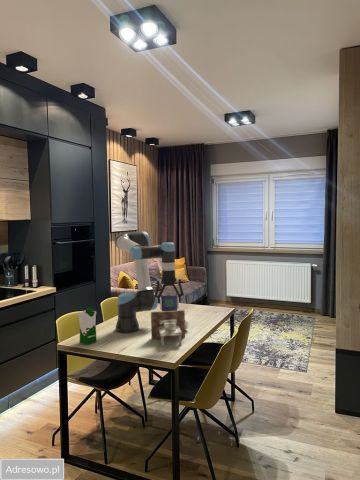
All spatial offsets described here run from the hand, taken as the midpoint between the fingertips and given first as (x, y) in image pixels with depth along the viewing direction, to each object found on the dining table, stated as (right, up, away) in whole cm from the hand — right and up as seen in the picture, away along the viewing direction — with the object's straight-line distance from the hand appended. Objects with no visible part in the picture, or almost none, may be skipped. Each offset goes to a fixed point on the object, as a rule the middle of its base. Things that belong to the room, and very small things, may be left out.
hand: (169, 308), depth 210 cm
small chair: (0, -20, +2) cm, 20 cm away
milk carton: (-48, -21, +4) cm, 52 cm away
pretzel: (+6, -19, +22) cm, 30 cm away
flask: (0, -1, 0) cm, 1 cm away
